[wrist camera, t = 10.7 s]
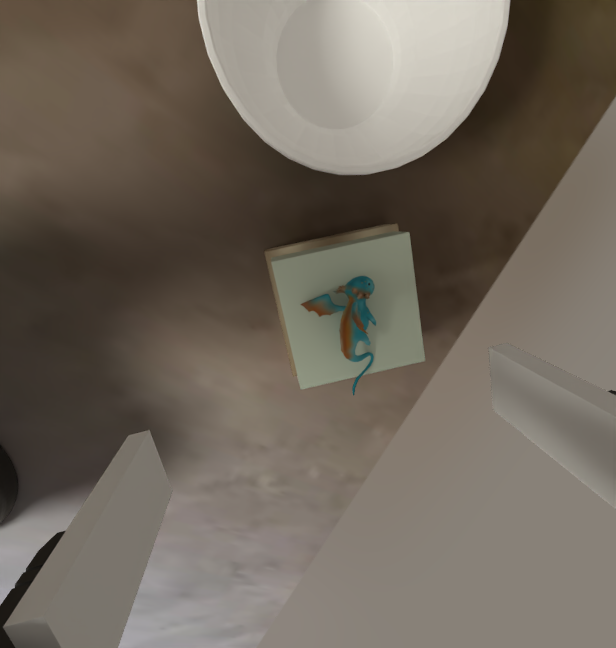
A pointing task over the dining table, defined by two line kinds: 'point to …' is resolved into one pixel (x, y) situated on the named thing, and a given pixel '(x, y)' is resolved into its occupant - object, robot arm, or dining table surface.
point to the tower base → (311, 245)
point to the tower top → (325, 277)
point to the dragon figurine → (349, 317)
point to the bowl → (354, 73)
